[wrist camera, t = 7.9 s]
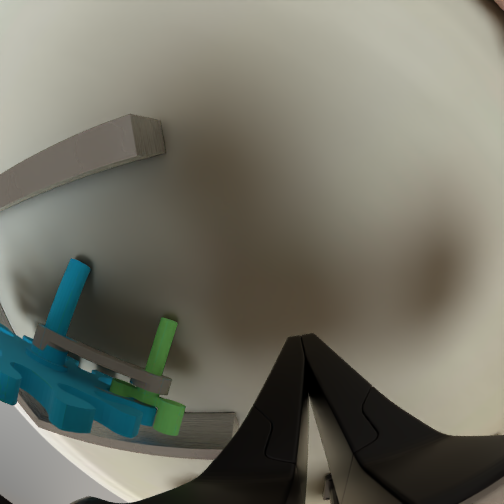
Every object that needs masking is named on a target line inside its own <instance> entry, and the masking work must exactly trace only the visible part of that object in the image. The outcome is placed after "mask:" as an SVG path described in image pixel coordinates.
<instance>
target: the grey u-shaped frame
mask: <svg viewBox="0 0 504 504" xmlns="http://www.w3.org/2000/svg"><path fill="white" fill-rule="evenodd" d="M164 153H166V151H165V145H164V139H163V134H162V128H161V121H160V120H156V119H151V118H147V117H142V116H137V115H133V114H129V115H126V116H123V117H120V118H117V119H114V120H112V121H109V122H106V123H104V124H101V125H98V126H96V127H93V128H91V129H89V130H86V131H84V132H81V133H79V134H77V135H74V136H72V137H70V138H68V139H66V140H63V141H61V142H59V143H57V144H55V145H53V146H51V147H49V148H47V149H45V150H43V151H41V152H39V153H37V154H35V155H33V156H31V157H30V158H28V159H26V160H24V161H22V162H21V163H19V164H17V165H15V166H14V167H12V168H10V169H8V170H7V171H5V172H4V173H2V174H0V211H3V210H5V209H7V208H9V207H11V206H13V205H15V204H18V203H20V202H22V201H24V200H27V199H29V198H31V197H34V196H36V195H38V194H41V193H43V192H46V191H48V190H51V189H53V188H56V187H58V186H61V185H64V184H66V183H69V182H72V181H74V180H77V179H80V178H83V177H86V176H89V175H92V174H95V173H98V172H101V171H104V170H107V169H110V168H113V167H117V166H120V165H123V164H127V163H130V162H134V161H137V160H141V159H144V158H148V157H152V156H156V155H160V154H164ZM0 323H1V324H3V325H4V326H6V327H7V328H8V329H9V330H10V331H12V332H13V330H12V328H11V326H10V324H9V322H8V320H7V318H6V316H5V314H4V311H3V309H2V307H1V305H0ZM13 333H14V332H13ZM17 401H18V403H19V404H20V405H21V406H22V408H23V409H24V410H25V411H26V413H27V414H28V415H29V416H30V418H31V419H32V420H33V421H34V422H35V424H36V425H37V426H38V427H40V428H43V429H46V430H48V431H51V432H54V433H57V434H60V435H64V436H67V437H70V438H74V439H77V440H81V441H85V442H88V443H92V444H96V445H101V446H105V447H110V448H114V449H119V450H125V451H130V452H136V453H143V454H150V455H157V456H166V457H176V458H189V459H211V460H214V459H215V458H216V457H217V456H218V455H219V454H220V452H221V451H222V450H223V449H224V447H225V446H226V445H227V444H228V443H229V441H230V440H231V439H232V437H233V436H234V435H235V433H236V432H237V431H238V427H239V424H238V421H237V418H236V415H235V413H184V415H183V418H182V422H181V425H180V429H179V433H178V435H177V436H171V435H167V434H163V433H161V432H159V431H157V430H155V429H154V428H153V426H152V427H151V426H144V425H141V424H140V427H139V431H138V434H137V436H135V437H133V438H127V437H124V436H121V435H119V434H117V433H115V432H113V431H111V430H110V429H108V428H107V427H105V426H104V425H102V424H100V423H98V422H97V421H95V420H93V423H92V428H91V433H74V432H68V431H63V430H60V429H58V428H57V427H55V426H54V425H53V424H52V423H51V422H50V421H49V415H48V413H47V411H46V409H45V408H44V407H43V406H42V405H41V404H40V403H39V402H38V401H37V400H36V399H35V398H34V397H32V396H31V395H30V394H29V393H28V392H26V391H24V390H23V389H21V388H19V393H18V398H17ZM156 414H157V412H156ZM155 418H156V415H155ZM155 418H154V421H155ZM153 425H154V422H153Z"/></svg>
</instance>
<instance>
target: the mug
mask: <svg viewBox="0 0 504 504" xmlns="http://www.w3.org/2000/svg"><path fill="white" fill-rule="evenodd" d="M494 1H495V2H496V3H497V4H498V5H499V7H500V8H501V9H502V10H504V0H494Z"/></svg>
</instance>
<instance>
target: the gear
mask: <svg viewBox="0 0 504 504" xmlns="http://www.w3.org/2000/svg"><path fill="white" fill-rule="evenodd" d="M90 270H91V269H90V268H89V267H88V266H87V265H85V264H84V263H82V262H80V261H78V260H76V259H72V258H71V259H70V262H69V264H68V266H67V269H66V271H65V273H64V276H63V278H62V280H61V283H60V285H59V288H58V290H57V293H56V296H55V298H54V301H53V304H52V306H51V309H50V312H49V315H48V318H47V321H46V324H45V325H44V324H41V323H38V326H37V329H36V332H35V336H34V339H32V338H30V337H27V336H25V335H24V336H23V339H21V338H20V337H18V336H17V335H15V334H14V333H13V332H12V331H10V330H9V329H8V328H7V327H6V326H4V325H3V324H1V323H0V401H2V402H5V403H7V404H10V405H15V404H16V403H17V398H18V393H19V388H21V389H23V390H24V391H26V392H28V393H29V394H30V395H31V396H32V397H34V398H35V399H36V400H37V401H38V402H39V403H40V404H41V405H42V406H43V407H44V408H45V409H46V411H47V413H48V415H49V421H50V422H51V423H52V424H53V425H54V426H55V427H57V428H58V429H60V430H63V431H68V432H74V433H91V428H92V423H93V420H95V421H97V422H98V423H100V424H102V425H104V426H105V427H107V428H108V429H110V430H111V431H113V432H115V433H117V434H119V435H121V436H124V437H127V438H133V437H135V436H137V434H138V431H139V427H140V424H141V425H144V426H151V427H152V426H153V428H154V429H155V430H157V431H159V432H161V433H163V434H167V435H171V436H177V435H178V433H179V429H180V425H181V422H182V418H183V415H184V411H185V408H186V406H185V405H183V404H180V403H178V402H175V401H172V400H168V399H164V398H161V397H159V395H168V391H169V388H170V385H171V381H172V379H170V378H168V377H166V376H163V375H162V373H163V370H164V366H165V363H166V360H167V356H168V353H169V350H170V346H171V343H172V340H173V337H174V334H175V331H176V327H177V324H178V323H177V322H175V321H172V320H170V319H167V318H163V317H161V320H160V323H159V326H158V329H157V332H156V336H155V339H154V342H153V345H152V348H151V351H150V354H149V358H148V361H147V364H146V368H145V369H144V368H141V367H138V366H136V365H133V364H130V363H128V362H125V361H123V360H120V359H118V358H115V357H113V356H110V355H108V354H106V353H103V352H101V351H99V350H96V349H94V348H92V347H90V346H87V345H85V344H83V343H81V342H79V341H77V340H75V339H72V338H70V337H68V336H66V334H67V331H68V328H69V325H70V322H71V319H72V316H73V313H74V311H75V308H76V305H77V302H78V300H79V297H80V294H81V292H82V289H83V287H84V284H85V282H86V279H87V277H88V275H89V272H90ZM68 351H70V352H72V353H74V354H76V355H78V356H80V357H82V358H85V359H87V360H89V361H91V362H94V363H96V364H98V365H101V366H103V367H105V368H108V369H110V370H113V371H115V372H118V373H120V374H123V375H125V376H128V377H131V380H130V383H132V384H133V385H132V384H130V383H128V382H125V381H123V380H120V379H116V378H113V377H110V376H108V375H106V374H104V373H102V372H99V371H97V370H92V373H89V372H87V371H85V370H82V369H81V368H79V367H78V365H79V361H78V360H76V359H74V358H71V357H69V356H67V354H68ZM134 385H135V386H136V387H135V386H134ZM156 407H157V408H158V410H157V409H156ZM156 411H157V414H156ZM155 415H156V418H155ZM154 418H155V421H154ZM153 422H154V425H153Z"/></svg>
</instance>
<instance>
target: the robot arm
mask: <svg viewBox="0 0 504 504" xmlns="http://www.w3.org/2000/svg"><path fill="white" fill-rule="evenodd" d="M308 393H309V394H308ZM309 398H310V402H311V406H312V409H313V412H314V416H315V419H316V423H317V426H318V430H319V433H320V437H321V440H322V444H323V447H324V451H325V454H326V458H327V461H328V465H329V468H330V472H331V475H327V476H326V477H325V482H324V490H323V500H330V503H331V504H504V435H494V436H451V435H447V434H443V433H441V432H438V431H436V430H435V429H433V428H431V427H429V426H428V425H426V424H425V423H423V422H421V421H420V420H418V419H417V418H415V417H414V416H412V415H410V414H409V413H407V412H406V411H404V410H403V409H401V408H400V407H398V406H397V405H395V404H394V403H393V402H391V401H390V400H389V399H387V398H386V397H385V396H384V395H383V394H381V393H380V392H379V391H378V390H377V389H376V388H374V387H372V385H371V384H370V383H369V382H368V381H366V380H365V379H364V378H363V377H362V376H361V375H360V374H359V373H357V372H356V371H355V370H354V369H353V368H352V367H351V366H350V365H348V364H347V363H346V362H345V361H344V360H343V359H342V358H341V357H339V356H338V355H337V354H336V353H335V352H334V351H333V350H332V349H331V348H329V347H328V346H327V345H326V344H325V343H324V342H323V341H322V340H321V339H319V338H318V337H317V336H316V335H315V334H314V333H310V334H304V335H302V336H299V335H298V336H291V337H288V338H287V340H286V342H285V344H284V346H283V348H282V350H281V352H280V354H279V356H278V358H277V360H276V362H275V364H274V366H273V368H272V370H271V372H270V374H269V376H268V378H267V380H266V382H265V384H264V386H263V388H262V390H261V391H260V393H259V395H258V397H257V399H256V401H255V403H254V404H253V407H252V408H251V410H250V411H249V413H248V415H247V417H246V418H245V420H244V422H243V423H242V425H241V426H240V428H239V429H238V431H237V432H236V433H235V435H234V436H233V437H232V439H231V440H230V441H229V443H228V444H227V445H226V446H225V447H224V449H223V450H222V451H221V452H220V454H219V455H218V456H217V457H216V458H215V459H214V461H213V462H212V463H211V464H210V465H209V466H208V468H207V469H206V470H205V471H204V472H203V473H202V474H201V475H200V476H198V477H197V478H196V479H194V480H192V481H191V482H189V483H186V484H184V485H182V486H179V487H177V488H174V489H172V490H169V491H166V492H164V493H161V494H158V495H155V496H152V497H149V498H146V499H143V500H140V501H136V502H132V503H113V502H108V501H105V500H102V499H98V498H95V497H91V496H89V497H85V498H82V499H79V500H76V501H74V502H72V503H71V504H305V497H306V481H307V461H308V432H309ZM0 504H12V503H11V502H9V501H8V500H7V499H5V498H4V497H3V496H1V495H0Z"/></svg>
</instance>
